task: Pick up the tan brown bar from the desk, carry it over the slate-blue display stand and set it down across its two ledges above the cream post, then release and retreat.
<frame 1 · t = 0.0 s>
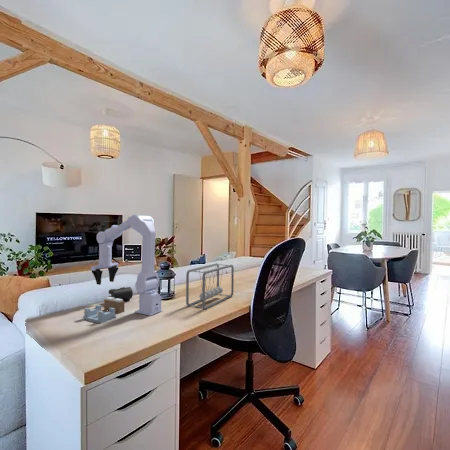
hand: (105, 282, 139), 10 cm above the table, fingers open, 7 cm apart
newton's cradle: (211, 301, 144), on the table
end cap: (120, 301, 143), on the table
display stand: (99, 318, 117), on the table
tan brown bar: (114, 311, 127), on the table
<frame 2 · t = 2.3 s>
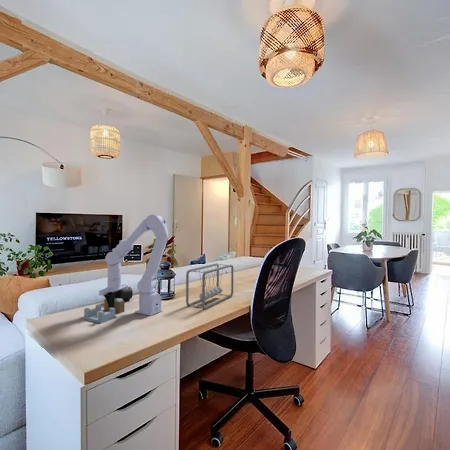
hand: (114, 307, 127), 1 cm above the table, fingers closed on tan brown bar, 3 cm apart
tan brown bar: (114, 310, 127), on the table, touching gripper
everything else where it was.
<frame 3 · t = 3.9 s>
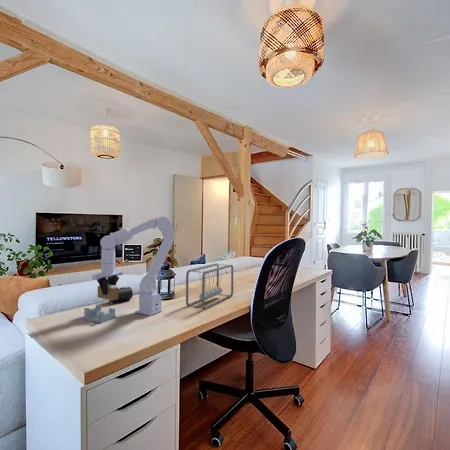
hand: (108, 293, 123), 9 cm above the table, fingers closed on tan brown bar, 3 cm apart
tan brown bar: (107, 298, 123), point 7 cm above the table, touching gripper
everything else where it was.
when the fingers open (6 cm above the table, at t = 5.5 s): tan brown bar stays where it is, resting on display stand.
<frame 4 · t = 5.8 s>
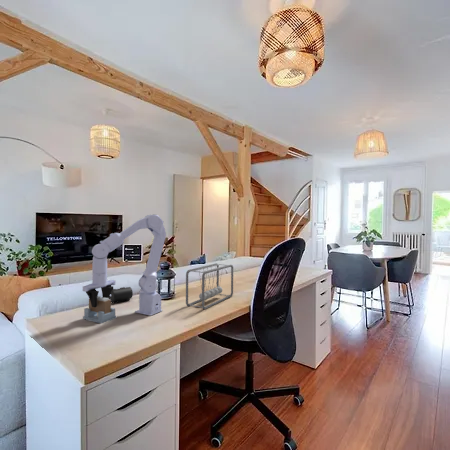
hand: (99, 305, 117), 6 cm above the table, fingers open, 5 cm apart
tan brown bar: (99, 311, 117), point 3 cm above the table, touching display stand
everything else where it was.
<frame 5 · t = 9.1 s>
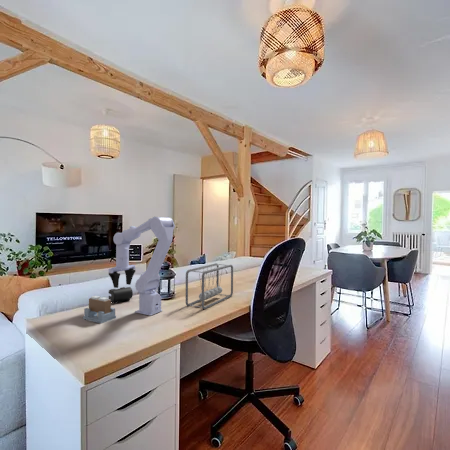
hand: (122, 285, 134), 10 cm above the table, fingers open, 7 cm apart
nothing on the table moved.
at the end: tan brown bar 0.1 cm off-centre on the display stand, point 3.0 cm above the display stand's base; tan brown bar tilted 0°; the gripper is holding nothing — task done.
